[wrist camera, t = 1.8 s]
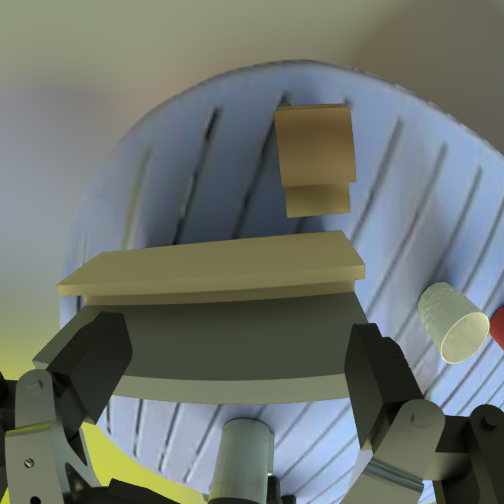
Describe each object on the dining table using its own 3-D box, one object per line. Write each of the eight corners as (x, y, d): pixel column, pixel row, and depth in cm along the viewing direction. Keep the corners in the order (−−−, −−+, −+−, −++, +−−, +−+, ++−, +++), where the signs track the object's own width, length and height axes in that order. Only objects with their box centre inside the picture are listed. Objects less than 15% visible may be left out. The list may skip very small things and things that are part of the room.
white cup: (439, 267, 37) (474, 301, 27) (464, 294, 38) (497, 328, 28) (403, 308, 39) (430, 349, 30) (432, 331, 40) (457, 371, 31)
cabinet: (332, 194, 35) (357, 218, 24) (283, 198, 36) (285, 224, 24) (324, 108, 31) (347, 90, 20) (273, 111, 32) (271, 94, 21)
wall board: (328, 293, 39) (367, 446, 17) (157, 303, 42) (75, 429, 20) (325, 207, 35) (395, 312, 13) (139, 226, 38) (12, 320, 16)
